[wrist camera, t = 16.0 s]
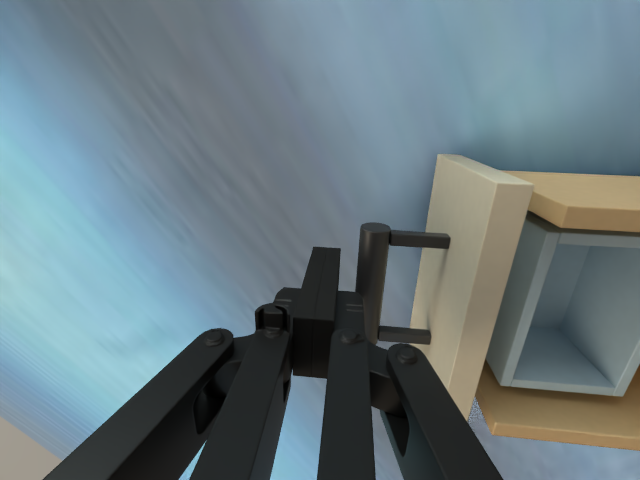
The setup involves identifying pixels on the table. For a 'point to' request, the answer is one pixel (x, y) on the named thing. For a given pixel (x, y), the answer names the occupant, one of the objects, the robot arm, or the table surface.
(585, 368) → the open box
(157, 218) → the table surface
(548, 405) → the drawer
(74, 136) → the table surface
